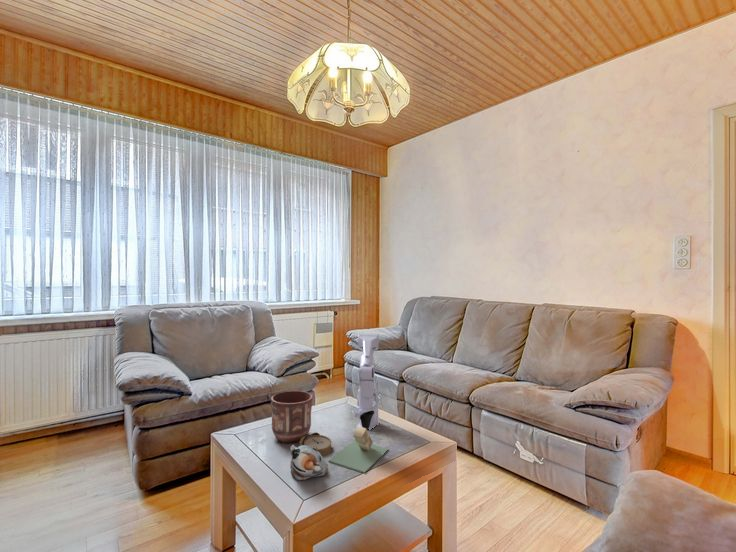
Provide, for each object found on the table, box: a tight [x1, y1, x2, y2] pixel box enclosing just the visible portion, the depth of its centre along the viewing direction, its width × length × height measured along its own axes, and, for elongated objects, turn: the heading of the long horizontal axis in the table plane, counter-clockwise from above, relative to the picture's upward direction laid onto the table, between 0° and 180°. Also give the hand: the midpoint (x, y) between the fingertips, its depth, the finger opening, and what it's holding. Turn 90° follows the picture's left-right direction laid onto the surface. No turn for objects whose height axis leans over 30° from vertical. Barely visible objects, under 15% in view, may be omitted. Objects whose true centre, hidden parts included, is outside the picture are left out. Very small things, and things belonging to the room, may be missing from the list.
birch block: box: [352, 425, 374, 451], centre depth 146 cm, size 4×4×10 cm
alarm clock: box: [298, 432, 334, 457], centre depth 149 cm, size 11×5×15 cm
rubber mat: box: [328, 439, 389, 474], centre depth 143 cm, size 20×16×1 cm
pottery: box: [270, 390, 314, 444], centre depth 159 cm, size 18×18×18 cm
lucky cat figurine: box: [289, 444, 329, 482], centre depth 129 cm, size 15×12×14 cm
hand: (365, 429), depth 147 cm, fingers closed
